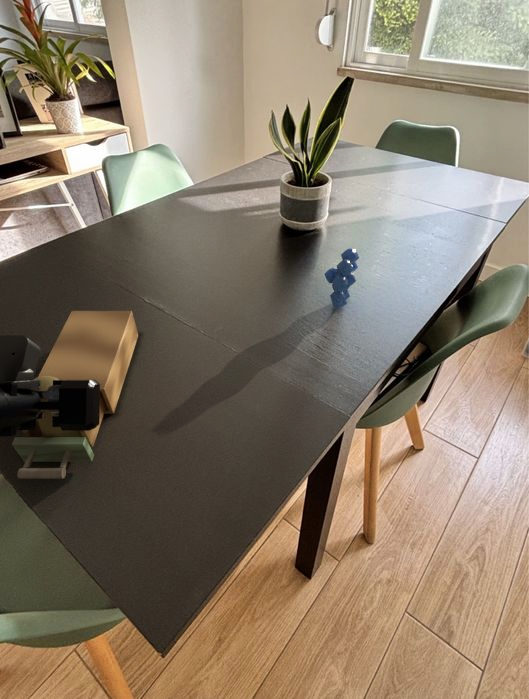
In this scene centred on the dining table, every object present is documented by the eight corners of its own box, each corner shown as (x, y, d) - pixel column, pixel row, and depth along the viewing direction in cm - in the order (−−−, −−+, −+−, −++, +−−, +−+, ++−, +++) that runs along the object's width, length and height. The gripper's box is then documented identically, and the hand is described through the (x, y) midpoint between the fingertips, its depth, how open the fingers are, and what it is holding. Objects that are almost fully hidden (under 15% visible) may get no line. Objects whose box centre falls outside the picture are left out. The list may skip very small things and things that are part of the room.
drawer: (83, 488, 60) (73, 471, 56) (12, 488, 60) (-3, 471, 56) (122, 371, 76) (115, 352, 73) (65, 370, 76) (57, 352, 73)
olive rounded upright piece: (83, 447, 63) (59, 399, 56) (40, 452, 63) (10, 405, 55) (88, 414, 68) (66, 366, 60) (49, 419, 67) (21, 371, 59)
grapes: (329, 282, 97) (335, 234, 89) (358, 289, 95) (367, 240, 87) (313, 312, 89) (319, 262, 81) (345, 320, 87) (353, 270, 79)
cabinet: (113, 413, 70) (104, 389, 66) (45, 413, 70) (31, 389, 66) (138, 335, 84) (131, 310, 79) (81, 335, 84) (71, 310, 79)
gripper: (71, 337, 46) (119, 342, 62) (-102, 336, 46) (-10, 342, 62) (69, 440, 46) (119, 420, 61) (-104, 440, 46) (-11, 419, 61)
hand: (54, 398), depth 61 cm, fingers closed on olive rounded upright piece, 5 cm apart
